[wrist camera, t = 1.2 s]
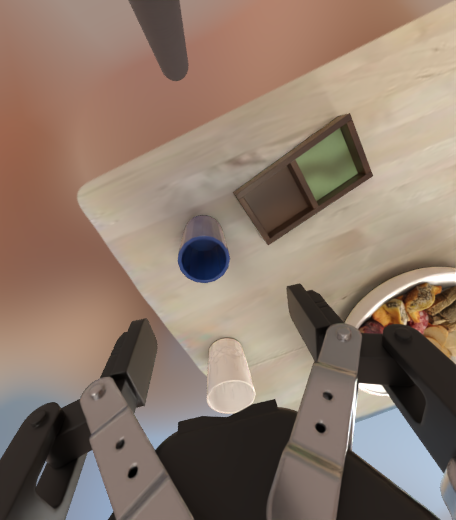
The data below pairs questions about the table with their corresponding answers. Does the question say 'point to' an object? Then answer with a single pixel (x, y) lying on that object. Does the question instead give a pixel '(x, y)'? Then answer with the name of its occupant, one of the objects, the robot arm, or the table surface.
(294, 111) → the table surface
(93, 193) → the table surface
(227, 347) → the white cup
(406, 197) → the table surface
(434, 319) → the bowl
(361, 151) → the holder
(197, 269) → the cup
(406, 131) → the table surface
